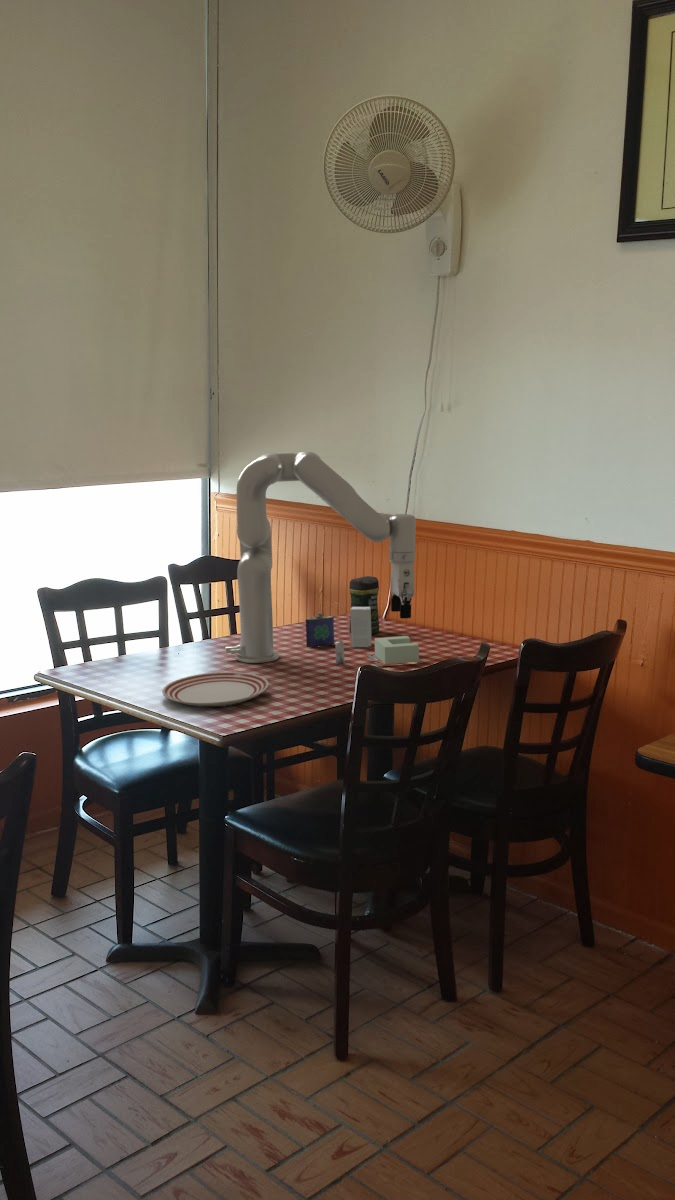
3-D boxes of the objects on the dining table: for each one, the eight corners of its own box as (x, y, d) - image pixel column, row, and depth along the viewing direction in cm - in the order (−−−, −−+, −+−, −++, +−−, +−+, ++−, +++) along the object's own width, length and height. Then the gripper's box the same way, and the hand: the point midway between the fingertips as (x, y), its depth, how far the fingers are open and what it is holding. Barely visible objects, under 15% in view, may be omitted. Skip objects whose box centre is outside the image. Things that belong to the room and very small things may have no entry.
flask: (332, 643, 333) (331, 609, 331) (336, 645, 331) (335, 611, 328) (305, 646, 330) (304, 612, 327) (308, 648, 327) (307, 614, 325)
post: (336, 665, 306) (336, 643, 305) (335, 663, 309) (334, 641, 308) (345, 664, 307) (344, 642, 306) (343, 662, 309) (342, 640, 308)
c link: (385, 664, 304) (384, 647, 303) (374, 654, 316) (374, 638, 315) (418, 661, 306) (418, 644, 305) (407, 652, 318) (407, 635, 317)
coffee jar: (364, 638, 339) (363, 580, 335) (345, 634, 344) (344, 577, 341) (384, 632, 346) (383, 576, 342) (365, 629, 351) (364, 573, 348)
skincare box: (371, 644, 330) (371, 606, 328) (370, 647, 326) (370, 609, 324) (352, 644, 331) (351, 606, 329) (351, 647, 327) (350, 609, 325)
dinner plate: (213, 720, 259) (212, 706, 258) (140, 700, 276) (140, 688, 276) (290, 694, 279) (290, 682, 278) (218, 678, 297) (218, 666, 296)
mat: (378, 667, 303) (378, 666, 303) (366, 655, 316) (366, 654, 316) (422, 664, 306) (422, 662, 306) (408, 652, 319) (408, 651, 319)
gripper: (423, 561, 303) (421, 620, 306) (406, 552, 320) (405, 608, 323) (397, 562, 301) (396, 621, 305) (382, 552, 318) (381, 609, 321)
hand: (400, 614), depth 314 cm, fingers open, 9 cm apart
